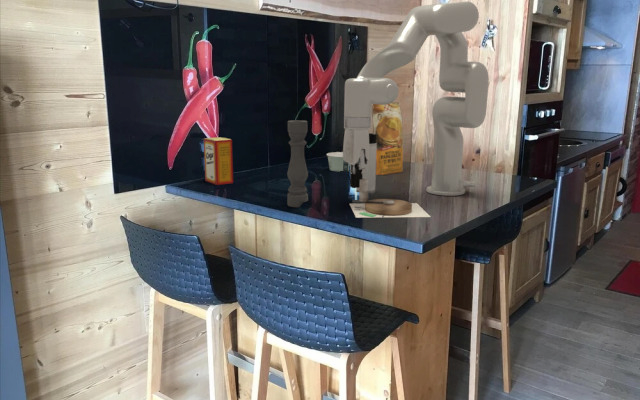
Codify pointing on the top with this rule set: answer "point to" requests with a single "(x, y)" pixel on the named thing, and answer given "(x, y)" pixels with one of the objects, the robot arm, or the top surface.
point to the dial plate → (362, 213)
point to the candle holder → (297, 164)
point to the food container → (337, 162)
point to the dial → (382, 203)
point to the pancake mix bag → (388, 138)
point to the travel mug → (370, 164)
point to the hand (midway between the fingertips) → (355, 187)
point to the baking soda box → (218, 160)
